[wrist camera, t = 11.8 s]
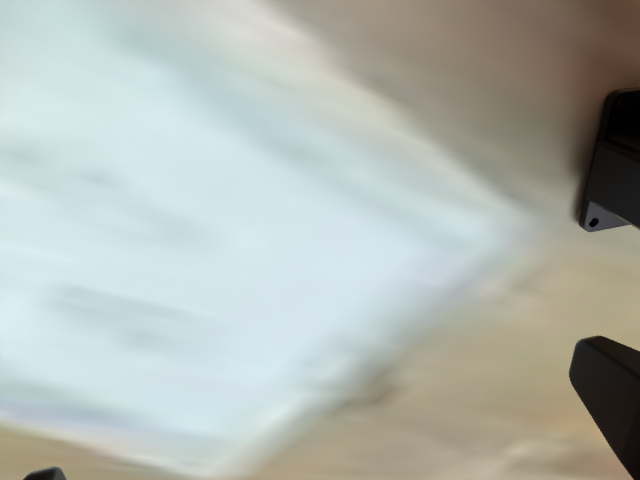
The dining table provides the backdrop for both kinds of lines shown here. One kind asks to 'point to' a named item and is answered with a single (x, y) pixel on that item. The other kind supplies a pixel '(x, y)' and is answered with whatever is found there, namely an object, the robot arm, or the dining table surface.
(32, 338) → the dining table surface
